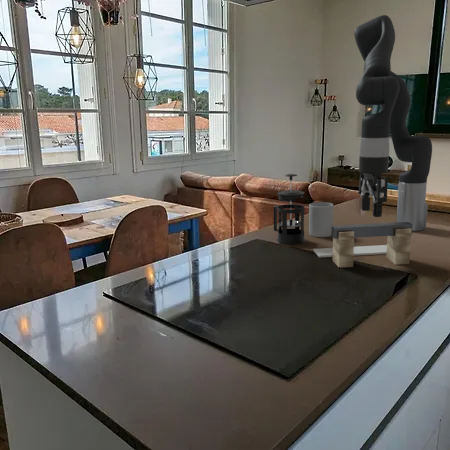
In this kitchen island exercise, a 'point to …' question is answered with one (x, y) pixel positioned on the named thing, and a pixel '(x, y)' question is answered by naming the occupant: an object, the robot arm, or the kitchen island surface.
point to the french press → (291, 234)
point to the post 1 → (344, 249)
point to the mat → (357, 251)
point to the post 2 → (399, 246)
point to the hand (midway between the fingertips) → (371, 213)
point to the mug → (320, 219)
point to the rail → (370, 229)
